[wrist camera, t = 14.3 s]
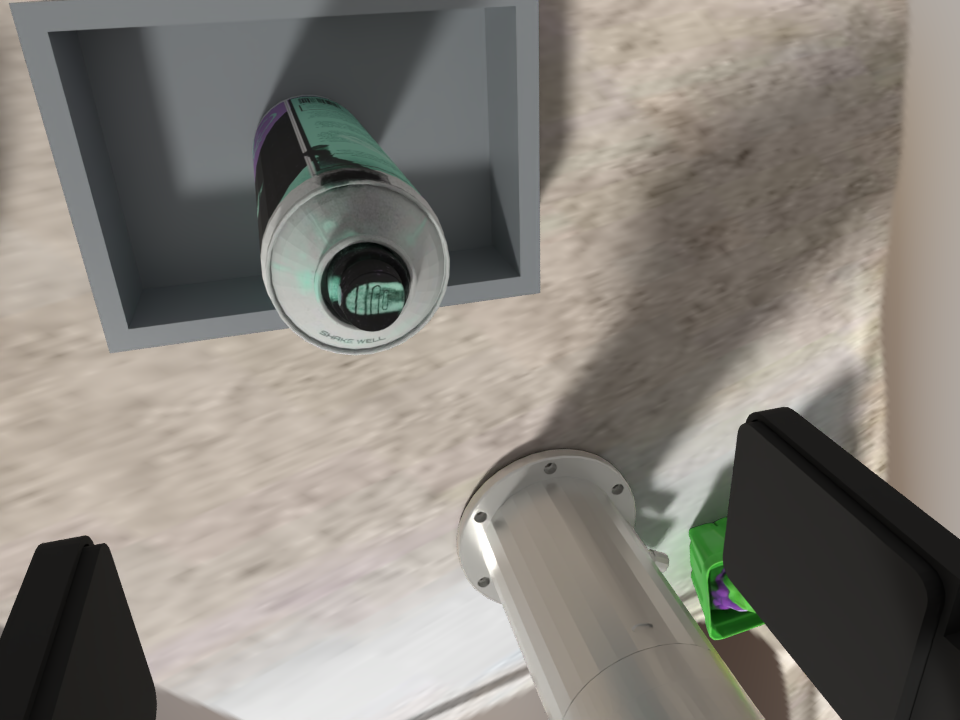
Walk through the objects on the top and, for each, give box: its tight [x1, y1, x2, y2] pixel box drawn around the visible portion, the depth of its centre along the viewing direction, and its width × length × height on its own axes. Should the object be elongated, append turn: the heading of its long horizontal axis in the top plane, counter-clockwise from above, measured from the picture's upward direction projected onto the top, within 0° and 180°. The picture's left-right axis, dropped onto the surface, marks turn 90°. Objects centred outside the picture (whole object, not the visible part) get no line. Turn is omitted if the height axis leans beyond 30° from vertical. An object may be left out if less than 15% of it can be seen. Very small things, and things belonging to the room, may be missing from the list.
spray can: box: [252, 95, 450, 355], centre depth 28 cm, size 6×6×20 cm
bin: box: [9, 0, 540, 353], centre depth 35 cm, size 20×14×6 cm
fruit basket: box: [689, 517, 765, 640], centre depth 53 cm, size 11×9×11 cm
